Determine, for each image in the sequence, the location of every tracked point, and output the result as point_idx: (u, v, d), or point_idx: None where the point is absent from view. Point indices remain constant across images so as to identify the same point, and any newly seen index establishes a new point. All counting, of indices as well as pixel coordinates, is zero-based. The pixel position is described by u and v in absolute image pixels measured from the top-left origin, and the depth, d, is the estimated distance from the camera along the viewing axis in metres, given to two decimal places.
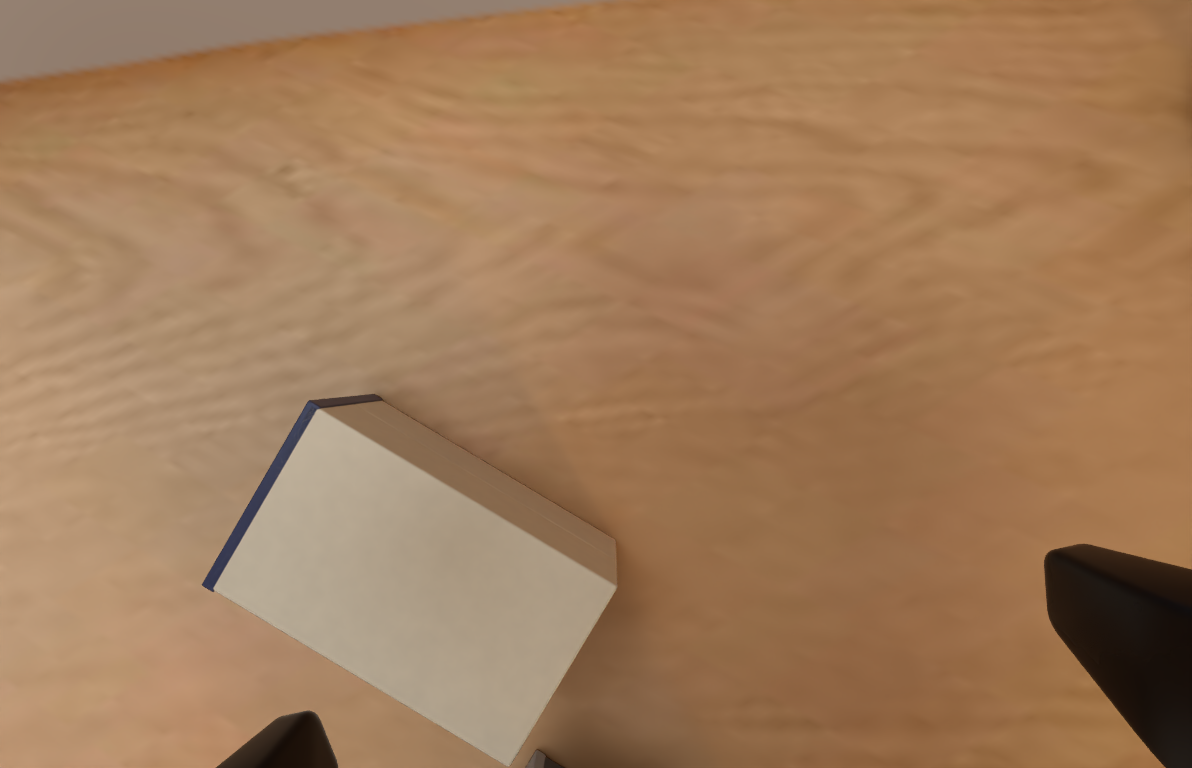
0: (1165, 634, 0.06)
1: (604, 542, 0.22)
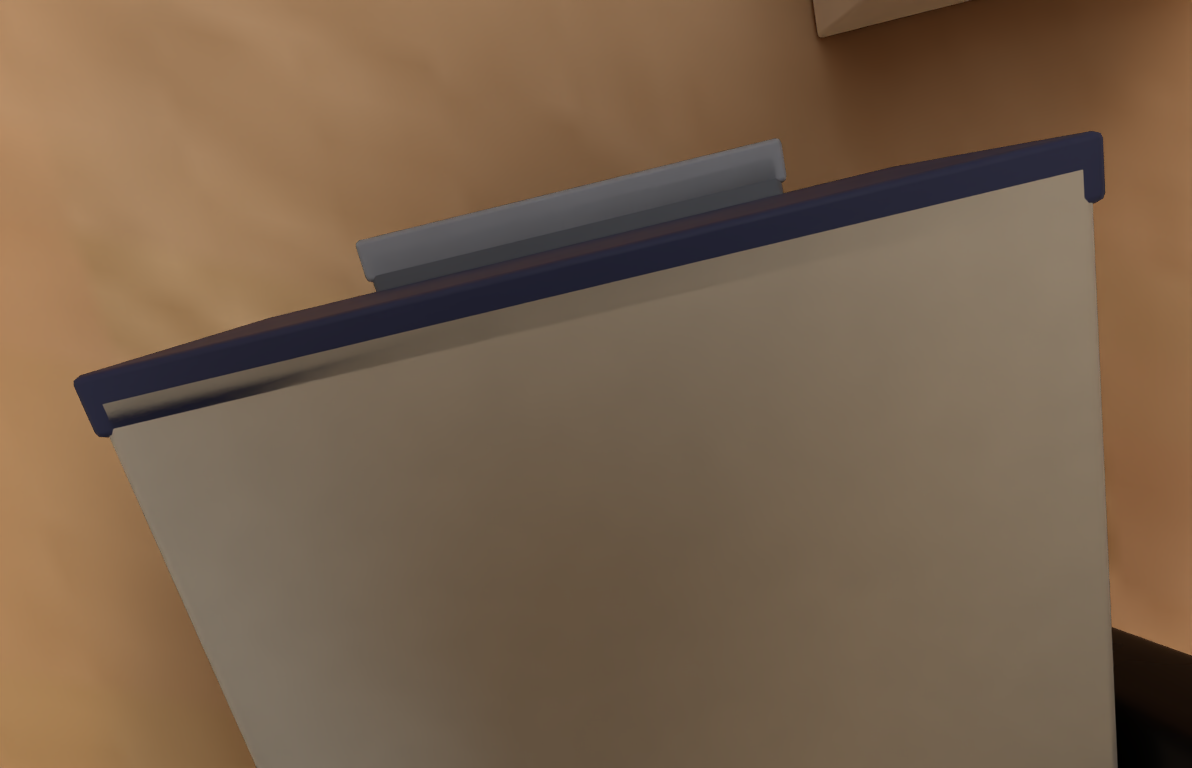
0: None
1: None
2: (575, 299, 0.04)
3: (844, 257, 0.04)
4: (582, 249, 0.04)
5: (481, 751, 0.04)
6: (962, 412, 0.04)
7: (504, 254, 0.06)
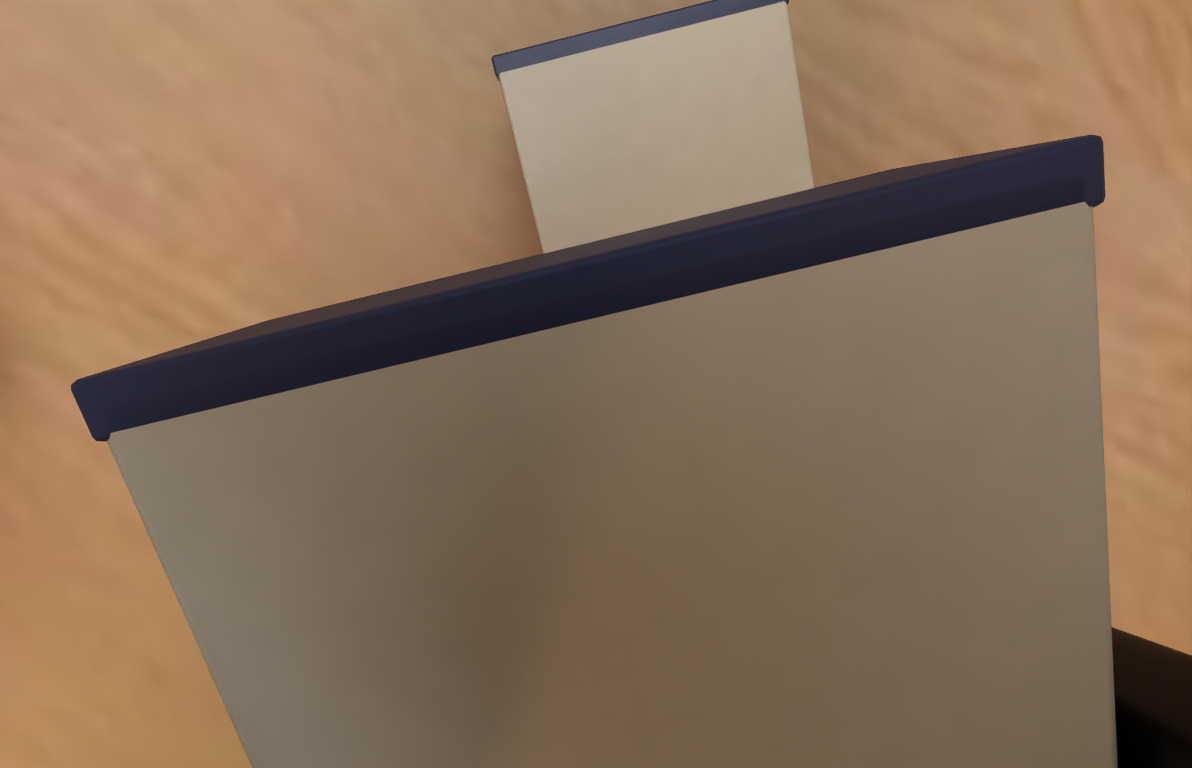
0: None
1: None
2: (575, 302, 0.04)
3: (844, 259, 0.04)
4: (581, 252, 0.04)
5: (480, 757, 0.04)
6: (962, 416, 0.04)
7: None
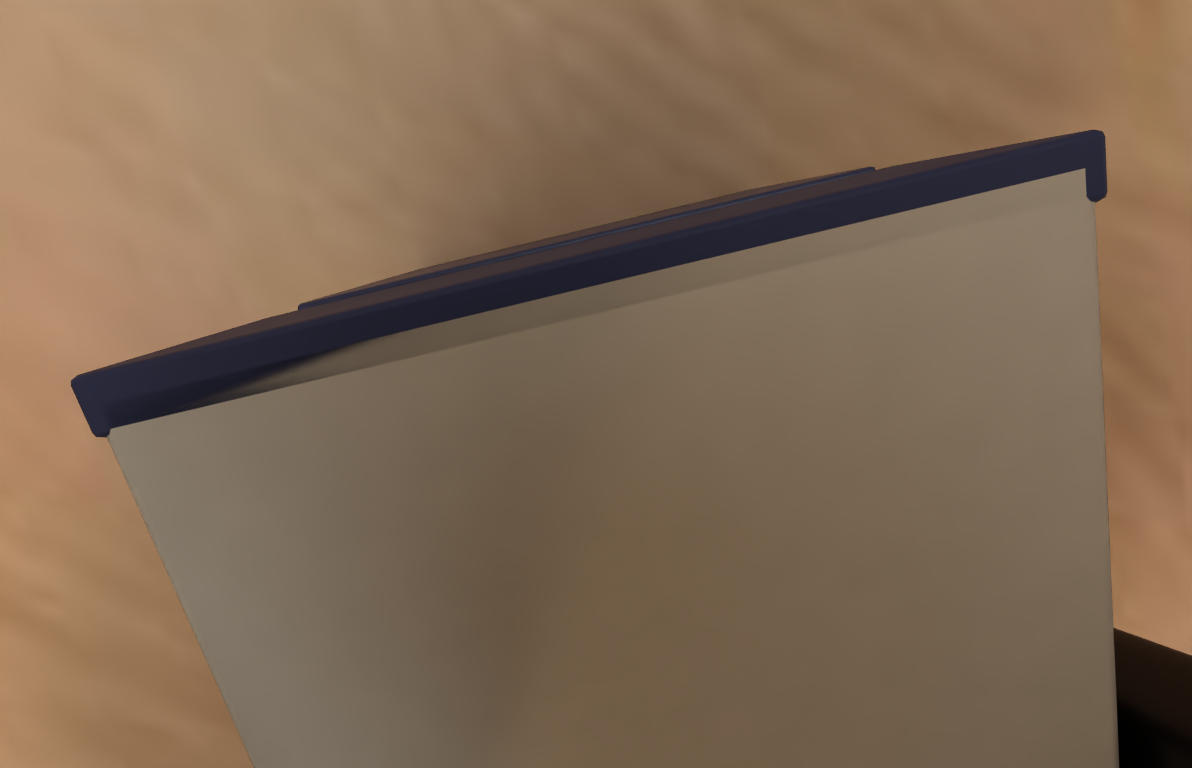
0: None
1: None
2: (576, 299, 0.04)
3: (846, 254, 0.04)
4: (582, 248, 0.04)
5: (480, 754, 0.04)
6: (963, 412, 0.04)
7: None
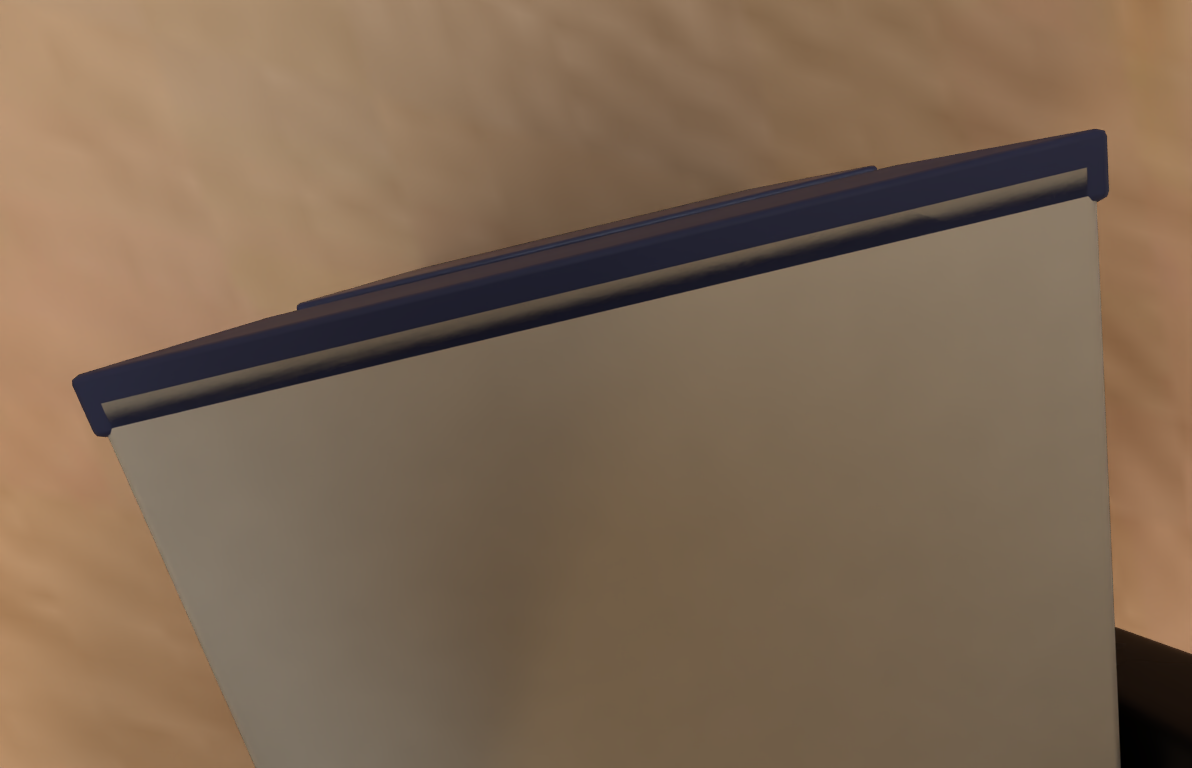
0: None
1: None
2: (576, 297, 0.04)
3: (847, 254, 0.04)
4: (583, 248, 0.04)
5: (480, 754, 0.04)
6: (965, 411, 0.04)
7: None
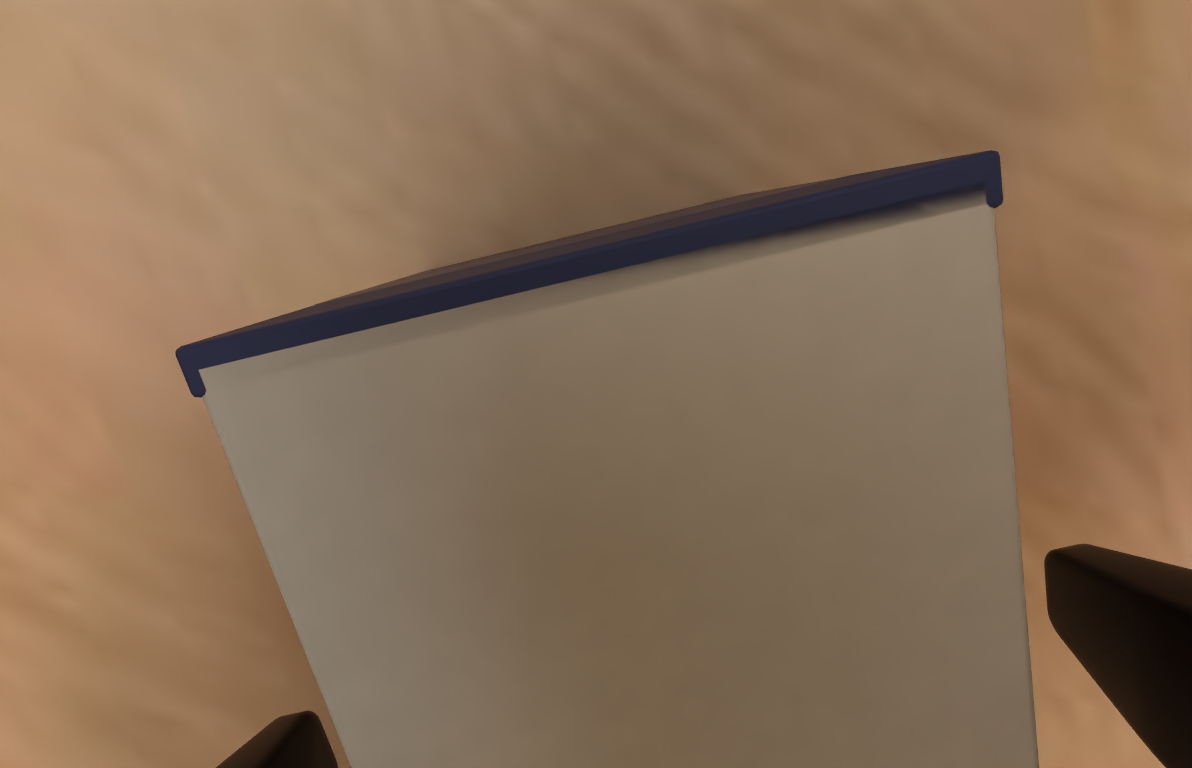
0: (1165, 634, 0.06)
1: None
2: (580, 284, 0.05)
3: (795, 250, 0.05)
4: (585, 245, 0.05)
5: (500, 663, 0.05)
6: (893, 377, 0.05)
7: None
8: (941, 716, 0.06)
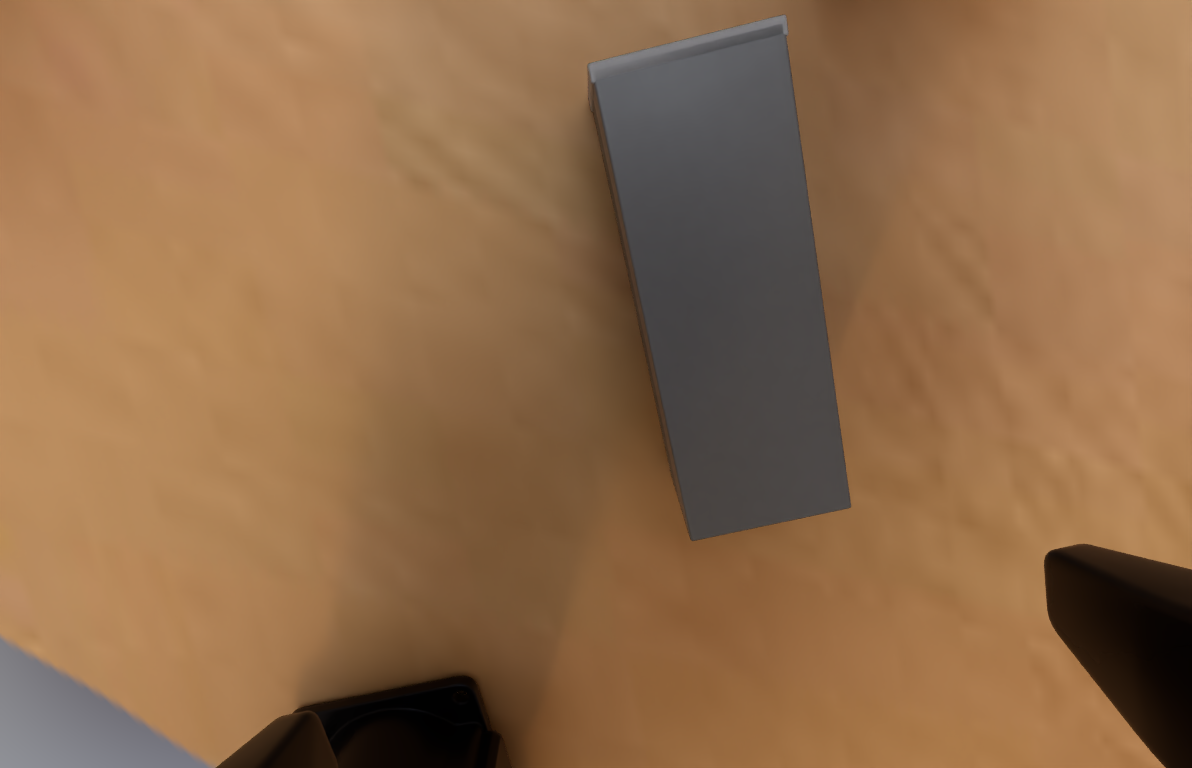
0: (1165, 634, 0.06)
1: None
2: None
3: None
4: None
5: None
6: None
7: (656, 69, 0.13)
8: None
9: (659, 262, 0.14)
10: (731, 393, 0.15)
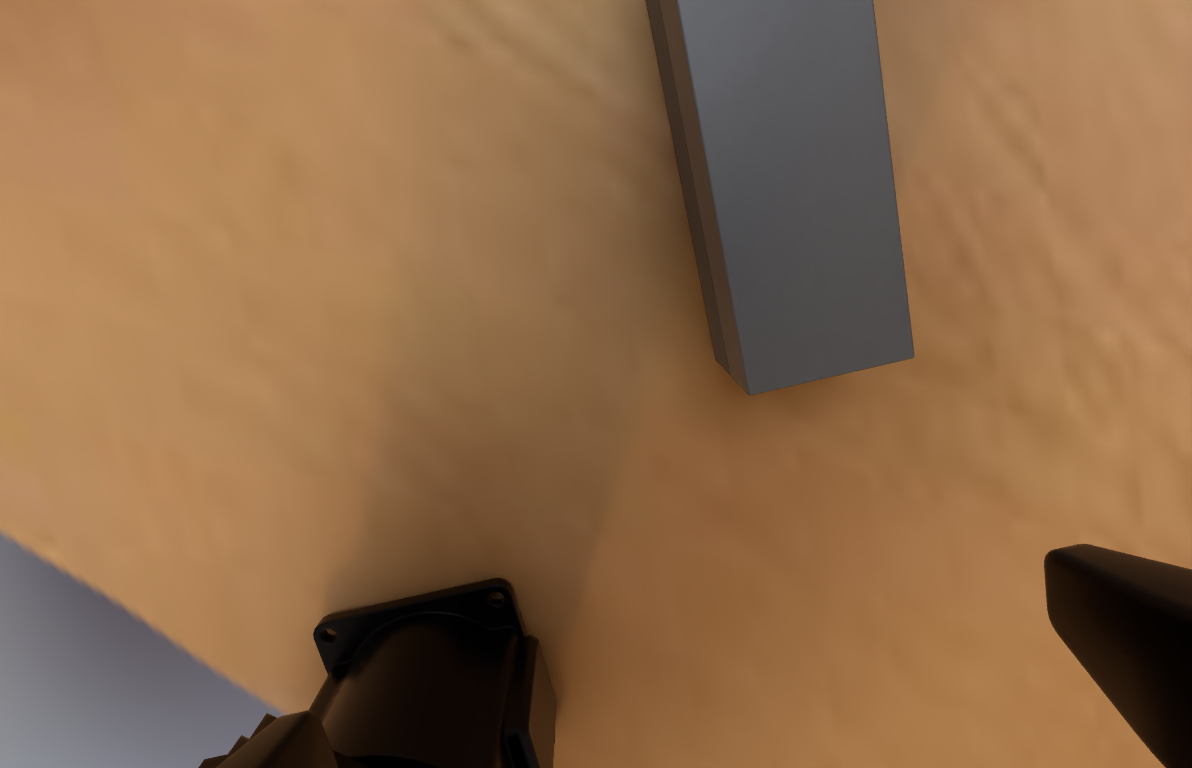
0: (1165, 634, 0.06)
1: None
2: None
3: None
4: None
5: None
6: None
7: None
8: None
9: (720, 86, 0.14)
10: (792, 230, 0.14)
